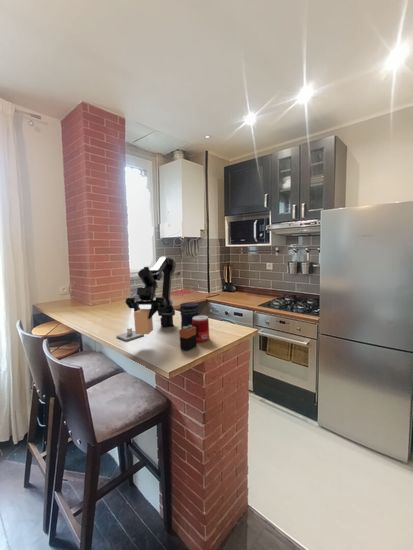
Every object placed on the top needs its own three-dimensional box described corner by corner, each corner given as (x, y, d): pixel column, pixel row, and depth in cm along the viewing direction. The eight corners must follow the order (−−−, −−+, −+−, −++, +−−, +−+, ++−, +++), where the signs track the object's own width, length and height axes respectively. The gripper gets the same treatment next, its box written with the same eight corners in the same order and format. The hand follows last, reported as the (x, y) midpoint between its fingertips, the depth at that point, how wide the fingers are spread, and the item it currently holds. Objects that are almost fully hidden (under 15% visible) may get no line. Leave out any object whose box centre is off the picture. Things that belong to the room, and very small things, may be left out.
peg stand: (133, 332, 141) (133, 324, 141) (143, 336, 134) (143, 327, 134) (116, 337, 134) (115, 329, 133) (126, 341, 127) (125, 332, 126)
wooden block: (140, 329, 122) (139, 309, 121) (153, 329, 121) (151, 308, 120) (135, 334, 116) (133, 312, 115) (148, 334, 115) (146, 312, 114)
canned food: (211, 337, 127) (210, 315, 126) (206, 343, 120) (205, 320, 119) (196, 336, 130) (195, 314, 129) (190, 341, 123) (189, 319, 121)
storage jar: (203, 329, 140) (201, 302, 139) (194, 335, 131) (193, 306, 130) (187, 328, 144) (185, 301, 143) (177, 333, 135) (176, 305, 134)
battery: (179, 349, 114) (178, 327, 113) (189, 344, 119) (188, 323, 118) (187, 351, 111) (186, 328, 110) (197, 346, 117) (196, 324, 116)
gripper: (125, 280, 121) (115, 309, 112) (163, 279, 118) (156, 309, 109) (133, 294, 130) (125, 322, 120) (169, 293, 127) (164, 322, 117)
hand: (142, 318), depth 116 cm, fingers closed on wooden block, 6 cm apart
